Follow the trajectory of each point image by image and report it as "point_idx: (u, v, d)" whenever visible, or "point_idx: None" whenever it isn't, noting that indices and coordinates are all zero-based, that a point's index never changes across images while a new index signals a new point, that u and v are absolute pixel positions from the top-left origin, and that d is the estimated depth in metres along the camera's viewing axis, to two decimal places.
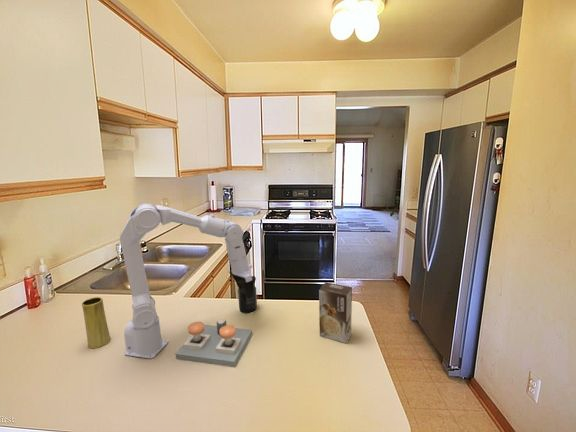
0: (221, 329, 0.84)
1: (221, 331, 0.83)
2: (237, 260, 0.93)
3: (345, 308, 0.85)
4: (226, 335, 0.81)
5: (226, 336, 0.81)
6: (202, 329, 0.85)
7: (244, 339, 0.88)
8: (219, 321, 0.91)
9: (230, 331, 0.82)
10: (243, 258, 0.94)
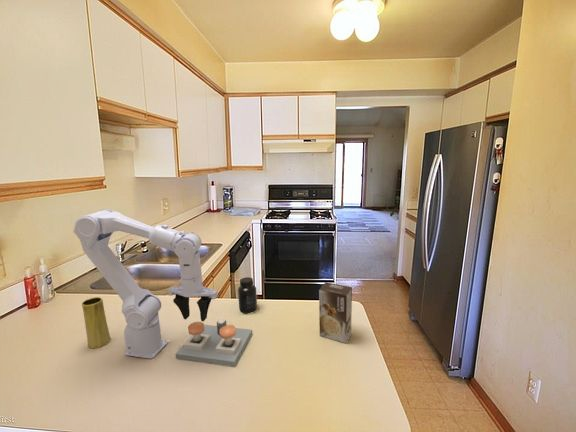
0: (221, 329, 0.84)
1: (221, 331, 0.83)
2: (197, 278, 0.81)
3: (345, 308, 0.85)
4: (226, 335, 0.81)
5: (226, 336, 0.81)
6: (202, 329, 0.85)
7: (244, 339, 0.88)
8: (219, 321, 0.91)
9: (230, 331, 0.82)
10: (201, 275, 0.83)
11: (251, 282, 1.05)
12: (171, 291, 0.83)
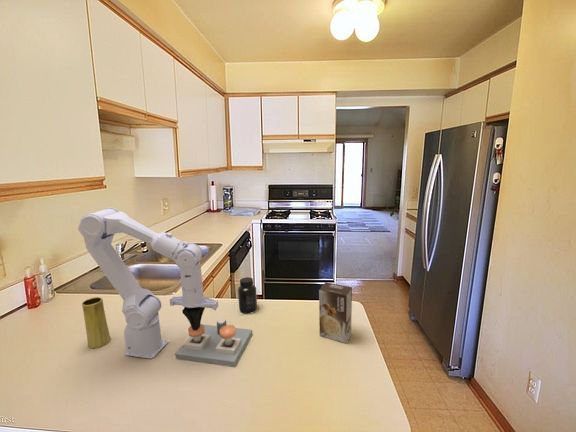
0: (221, 329, 0.84)
1: (221, 331, 0.83)
2: (198, 288, 0.81)
3: (345, 308, 0.85)
4: (226, 335, 0.81)
5: (226, 336, 0.81)
6: (202, 331, 0.85)
7: (244, 339, 0.88)
8: (219, 321, 0.91)
9: (230, 331, 0.82)
10: (202, 285, 0.83)
11: (251, 282, 1.05)
12: (172, 301, 0.84)
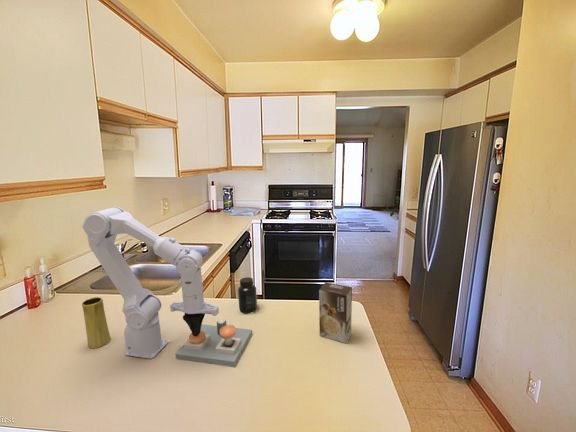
0: (221, 329, 0.84)
1: (221, 331, 0.83)
2: (199, 295, 0.82)
3: (345, 308, 0.85)
4: (226, 335, 0.81)
5: (226, 336, 0.81)
6: (203, 338, 0.85)
7: (244, 339, 0.88)
8: (219, 321, 0.91)
9: (230, 331, 0.82)
10: (202, 291, 0.84)
11: (251, 282, 1.05)
12: (173, 307, 0.84)
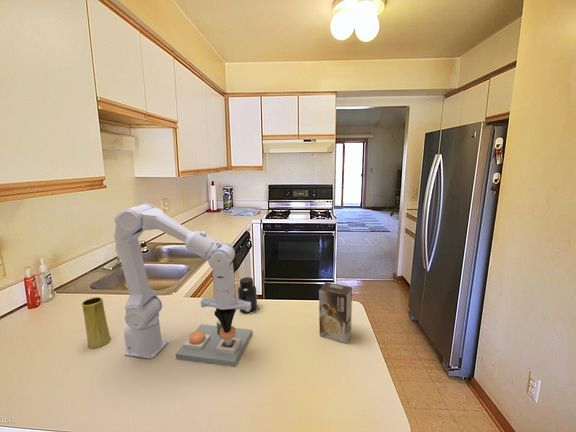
0: (221, 330, 0.84)
1: (221, 332, 0.83)
2: (231, 289, 0.79)
3: (345, 308, 0.85)
4: (226, 336, 0.81)
5: (226, 337, 0.81)
6: (203, 338, 0.85)
7: (244, 339, 0.88)
8: (219, 321, 0.91)
9: (230, 332, 0.82)
10: (234, 286, 0.81)
11: (251, 282, 1.05)
12: (203, 303, 0.82)
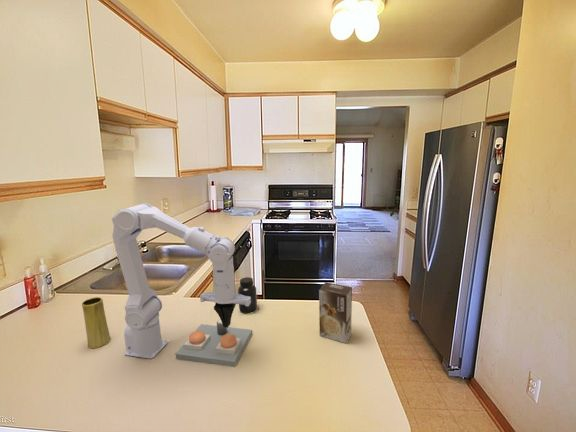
0: (222, 338, 0.84)
1: (222, 340, 0.83)
2: (231, 284, 0.79)
3: (345, 308, 0.85)
4: (227, 344, 0.82)
5: (227, 345, 0.82)
6: (203, 338, 0.85)
7: (244, 339, 0.88)
8: (219, 321, 0.91)
9: (230, 341, 0.83)
10: None
11: (251, 282, 1.05)
12: (203, 297, 0.82)
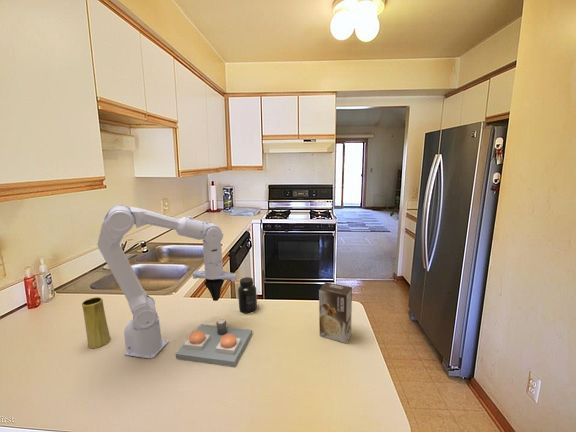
0: (222, 338, 0.84)
1: (222, 340, 0.83)
2: (219, 262, 0.91)
3: (345, 308, 0.85)
4: (227, 344, 0.82)
5: (227, 345, 0.82)
6: (203, 338, 0.85)
7: (244, 339, 0.88)
8: (219, 321, 0.91)
9: (230, 341, 0.83)
10: None
11: (251, 282, 1.05)
12: (195, 274, 0.94)
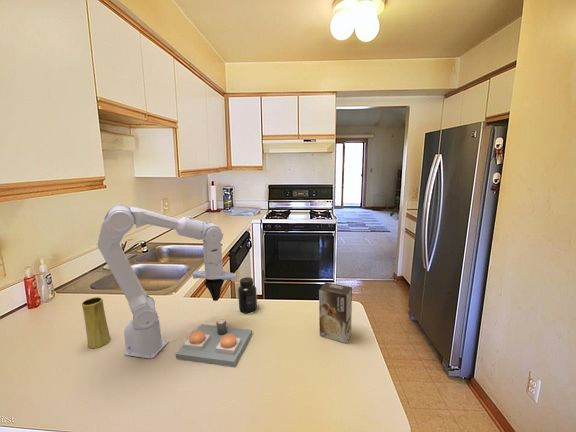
0: (222, 338, 0.84)
1: (222, 340, 0.83)
2: (219, 262, 0.91)
3: (345, 308, 0.85)
4: (227, 344, 0.82)
5: (227, 345, 0.82)
6: (203, 338, 0.85)
7: (244, 339, 0.88)
8: (219, 321, 0.91)
9: (230, 341, 0.83)
10: None
11: (251, 282, 1.05)
12: (195, 274, 0.94)
